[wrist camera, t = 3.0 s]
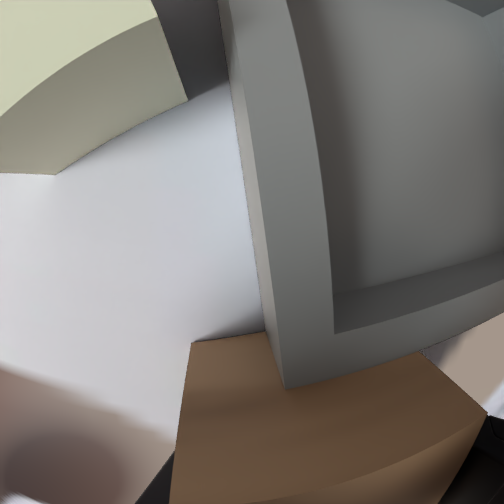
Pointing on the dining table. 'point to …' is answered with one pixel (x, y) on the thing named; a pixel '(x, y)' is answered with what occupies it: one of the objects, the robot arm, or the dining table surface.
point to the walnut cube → (317, 431)
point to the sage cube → (78, 78)
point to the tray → (369, 173)
